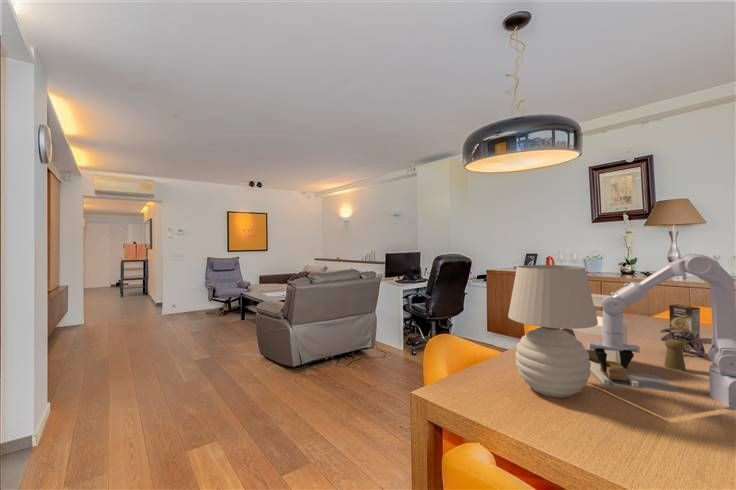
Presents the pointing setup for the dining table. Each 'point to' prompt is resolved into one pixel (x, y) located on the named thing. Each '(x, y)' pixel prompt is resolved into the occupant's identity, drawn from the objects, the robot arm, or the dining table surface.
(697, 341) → the decorative flower
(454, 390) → the dining table surface
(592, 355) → the gable box
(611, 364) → the wooden box
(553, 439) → the dining table surface
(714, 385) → the robot arm
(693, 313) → the food box
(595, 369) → the board
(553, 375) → the table lamp
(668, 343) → the cork
